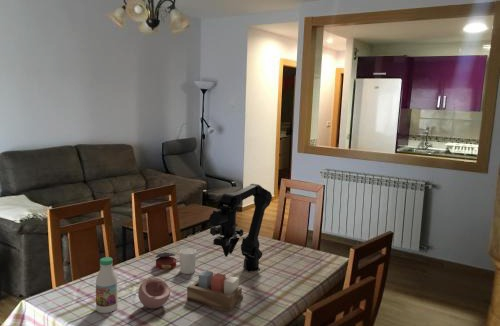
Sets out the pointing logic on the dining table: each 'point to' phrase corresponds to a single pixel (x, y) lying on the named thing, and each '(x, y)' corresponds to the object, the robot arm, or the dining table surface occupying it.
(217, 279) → the red key
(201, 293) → the key console
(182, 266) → the white cup
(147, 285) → the pink round pot
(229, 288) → the white key
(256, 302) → the dining table surface
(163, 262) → the canned food
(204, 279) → the grey rectangular block
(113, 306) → the milk bottle
